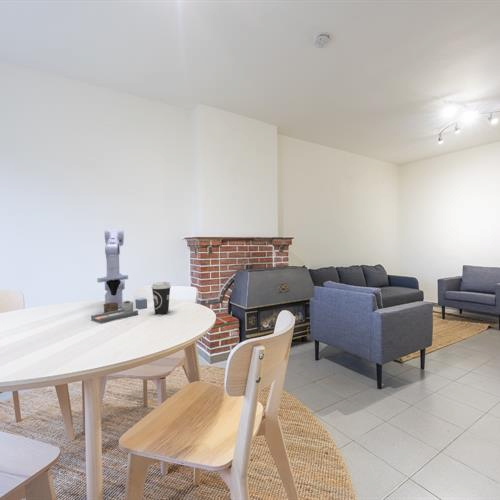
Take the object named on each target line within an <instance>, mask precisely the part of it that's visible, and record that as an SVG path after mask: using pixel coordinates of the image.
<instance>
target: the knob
mask: <svg viewBox="0 0 500 500" xmlns="http://www.w3.org/2000/svg"><path fill="white" fill-rule="evenodd" d="M122 302H123V303H121V307H120V310H121V312H123V313H127V312H131V311H134V302H132V301H130V300H126V301H122Z"/></svg>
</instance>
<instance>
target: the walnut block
mask: <svg viewBox="0 0 500 500" xmlns="http://www.w3.org/2000/svg"><path fill="white" fill-rule="evenodd" d="M116 310H119V308H118V303H115V302H110V303H106V304H105V303H103V313H107V312H111V311H116Z"/></svg>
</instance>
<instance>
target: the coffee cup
mask: <svg viewBox="0 0 500 500" xmlns="http://www.w3.org/2000/svg"><path fill="white" fill-rule="evenodd" d="M150 288H151V289H152V290H151V291H152V297H153V298H152V299H153V307H154V310H153V311H154V314H155V315H157V314H162V315H167V314H169V308H170V307H169V306H170V294H171V288H172V286H171V284H170V282H167V281H165V282H164V281H163V282H161V281H160V282H153V283H152V285H151V287H150Z"/></svg>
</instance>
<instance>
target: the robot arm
mask: <svg viewBox="0 0 500 500" xmlns="http://www.w3.org/2000/svg"><path fill="white" fill-rule="evenodd" d="M124 235H125V230H124V229H107V228H106V229H105V230H104V241H105V246H104V254H105V259H106V276H104V277H97V279H96V280H97V281H96V282H97V283H98V284H99V283H104V290H105V294H104V304H106V303H110V302H115V303H118V309H119V308H120V309H121V303H123V302H124V301H123V290H125V288H126V287H125V280H129V275H128V274H126V275H123V274H121V273H120V254H121V247H122V246H124V241H125V238H124V237H125V236H124Z"/></svg>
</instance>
